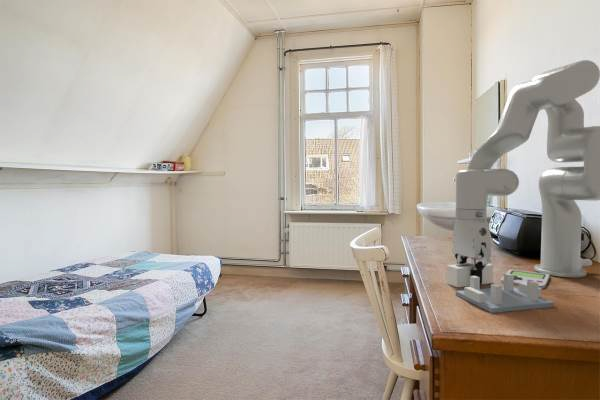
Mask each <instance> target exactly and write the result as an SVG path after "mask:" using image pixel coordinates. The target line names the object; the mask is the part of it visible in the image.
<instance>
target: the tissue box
mask: <svg viewBox="0 0 600 400" xmlns="http://www.w3.org/2000/svg"><path fill="white" fill-rule="evenodd" d="M478 262H479V261H478V260H476V264H477V263H478ZM471 269H472V264H471V262H468V263H464V264H457V263H456V264H447V265H446V273H445V274H446V277H445V279H446V282H445V284H447V285H450V286H452V287H456V288H463V287H470V270H471ZM486 284H494V264H491V263H488V264H486V266H485V267H484V270H482V284H481V285H486Z"/></svg>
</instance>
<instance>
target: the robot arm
mask: <svg viewBox="0 0 600 400" xmlns="http://www.w3.org/2000/svg"><path fill="white" fill-rule="evenodd" d="M599 81H600V68H599V66H598V65H597V63H595V62H594V61H591V60H588V59H587V60H586V59H583V60H579V61H575V62H573V63H568V64H566V65H563V66H559V67H555V68H552V69H549V70H546V71H544V72H542V73H539V74H537V75H535V76H534V77H532V79H531V80H527V81H525V82H522V83H519V84H517V85H516V86H514V87H513V88H512V89H511V90H510V92H509V94H508V97H507V100H506V102H505V104H504V107H503V110H502V113H501V115H500V117H499V118H500V119H499V120H498V123H497V126H496V129H495V130H494V132H493V133H492V134H491V135H490V136H489V137H488V138H487V139H486V140H485V142H484V143H482V145H480V146H479V148H478V149H477V150H476V151H475V153H474V154H473V156H472V157H471V159H470V161H469V163H468V165H467V166H468V167H467V169H461V170H459V171H457V173H456V175H455V176H456V177H455V179H456V180H455V219H454V220H455V221H454V225H453V226H454V227H453V236H452V249H451V252H452V254H453V256H454V258H455V260H456V264H464V263H469V259H470V263H471V264H472V269H471V270H470V276H477V277H480V285H483V284H482V270H484V267H485V266H486V264H491V262H492V260H491V257H492V238H491V237H492V236H491V230H490V224H489V221H487V200H488V198H487V196H489V197H507V196H510V195H512V194H514V193H515V192H516V191H517V189H518V187H519V185H520V184H519V183H520V181H519V180H520V179H519V177H518V175H517V174H516V173H515V172H514V171H513V170H510V169H508V168H492V167H493V166H494V165H495V163H496V162H497V161H498V160H499V159H500V158H501V157H503V156H504V155H506V154H507V153H509V152H511V151H513V150H514V149H517V148H519V147H520V146H522V145H523V144H525V143H527V141H528V140H529V139H530V137H531V134H532V131H533V128H534V126H535V123H536V120H537V117H538V116H539V115H538V114H539V112H540V111H542V110H544V111H545V114H546V115H547V116H546V117H547V138H546V155H547V158H548V159H549V160H550V161H552V162H554V163H576V162H577V163H580V162H581V163H583V166H561V167H560V166H559V167H554V168H553V167H552V168H549V169H547V170H545V171H544V172H542V174H541V175H540V177H539V180H538V190H539V194H540V200H541V238H540V239H541V240H540V241H541V242H540V263H539V264H535V265H534V268H533V269H534V270H535V272H537V273H543V274H549V275H550V276H554V277H561V278H575V279H576V278H584V277H586V276H587V270H585V269H584V268H583V267H584V266H592V264H593V261H592V259H589V258H585V259H584V258H582V257H581V250H582V249H581V248H582V247H581V245H582V219H583V218H582V212H581V209H580V207H579V206H578V204H577V202H576V201H595V202H596V201H600V125H595V126H594V125H591V126H586V127H585V111H584V109H583V107H582V105H581V104H580V102H579V101H578V100H577V99H578V98H580V97H582V96H584V95H585V94H587V93H589V92H591V91H592V90H593V89H594V88H595V87H596V86H597V85H598V83H599ZM476 261H479V262H478V263H477V264H476Z"/></svg>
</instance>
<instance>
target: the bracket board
mask: <svg viewBox="0 0 600 400" xmlns="http://www.w3.org/2000/svg"><path fill="white" fill-rule="evenodd" d="M506 273H507V272H506ZM506 273H503V276H504V283H503V286H502V285H501V284H497V283H490V287H486V288H480V287H481V286H480V285H481V284H480V277H477V276H470V286H464V289H463V290H455V295H456V297H459V298H461V299H463V300H465V301H467V302H469V303H471V304H473V305H475V306H477V307H479V308H481V309H483V310H484V311H487V312H488V313H491V314H493V313H505V312H513V311H515V312H516V311H523V310H533V309H534V310H536V309H543V308H554V307H555V301H552V300H550V299H547V298H543V296H542V293H543V288H539V287H538V283H537V282H534V281H528V282H527V283H524V282H523V283H519V286H518V288H517V287H515V285H514V275H513V274H510V273H507V274H506Z"/></svg>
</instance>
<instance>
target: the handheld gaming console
mask: <svg viewBox="0 0 600 400" xmlns="http://www.w3.org/2000/svg"><path fill="white" fill-rule="evenodd" d="M507 273H510V274H513V275H514V286H517V287H519V283H523V282H524V283H527V282H528V281H534V282H537V283H538V287H539V288H542V289H545V288H546V287H547V285H548V282H549V279H550V277H551V275H549V274H543V273H540V272H536V271H534V272H533V271H527V270H519V269H512V268H511V269H509V270H508V271H507V272H506V273H505V274H507ZM500 283H501V284H504V275H503V276H502V277H501V278H500Z"/></svg>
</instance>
